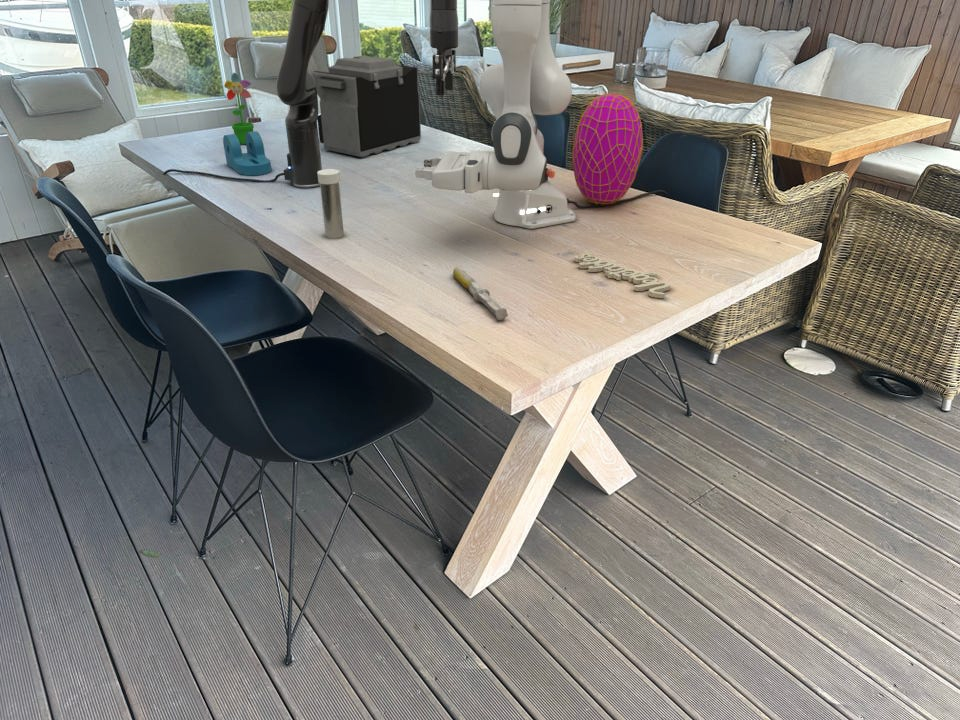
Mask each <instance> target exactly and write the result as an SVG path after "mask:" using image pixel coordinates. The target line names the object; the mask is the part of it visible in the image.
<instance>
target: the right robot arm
mask: <svg viewBox="0 0 960 720" xmlns="http://www.w3.org/2000/svg"><path fill="white" fill-rule="evenodd" d="M550 7H551V0H490V25H491V26H490V27H491V33H492V38H493V42H494V44H495V46H496V48H497V50H498V52H499V54H500V57H501V59H502V63H495V64H491V65H489V66H488V67H487V68H486V69H484V71H483V73H482V75H481V77H480V82H479V90H480V95H481V97H482V99H483V101H484V102H485V103H486V104H487V105H488V106H489V107H490V109H491V111H492V113H493V115H494V117H495V121H494V123H493V125H492V128H491V140H492V145H493V146H492V147H493V150H494V151H493V152H490V151H486V150H470V152H462V151H446V152H445V153H444V155H443V156H437V157H432V158H431V157H428V158H427V157H426V158H424V160H423V167H424V168H420V167H418V168H416V169H415V171H414V173H415V178H418V179H424V180H428V181H431V185H432V187H433V188H435V189H441V190H448V191H458V192H459V191H464V193H465V194H475V193H476V192H479V191H493V190H498V193H493V194H492V196H493V197H498V198H497V203H496V208H495V210H494V214H493V219H494V220H495V221H496V222H498V223H500V224H503V225H508V226H513V227H519V228H524V229H529V230H534V229H539V228H544V227H550V226H555V225H561V224H566V223H571V222H575V221H576V214H575V212H574V211H573V210H572V209H571V208H570V207H569V204H570V205H571V204H572V205H574V206H575V207H576V208H578V209H593V208H597V207H602V206H608V205H610V204H596V203H595V204H590V205H580V204H578V203H577V202H576V201H573V200H570V198H568V197H567V196H566V194H565V193H564V191H562V190H561V189H560V188H559V187H558V186H556V185H555V184H554V183H553V182H552V181H550V180H549V178H550V179H553V178H555V176H556V171H555V170H553V169H552V168H548V167H547V165H548V160H547V157H546V156H545V155H544V146H545V139H544V138H545V137H544V135H543V133H542V132H541V130H540V129H539V128H538V122H537V118H536V115H538V116H555V115H560V114H562V113H563V112H564V111H565V110H566V109H567V107H568V106H569V105H570V103H571V100H572V96H573V87H572V86H573V85H572V82H571V79H570V78H569V76H568V74H567V73H565V72H564V71H563V69H562V67H561V66H560V65H559V62H558V61H557V59H556V56H555V53H554V50H553V47H552V41H551V33H550V32H551V31H550V27H551V26H550V14H551V12H550V11H551V10H550ZM432 167H433V168H434V169H425V168H432ZM659 193H662V194H663V195H665V196H668V195H669V194H668V193H667V192H666V191H665V190H662V189H657V190H653V191H649V192H645V193H641V194H638V195H636V196H632V197H628V198H624V199H620V200H618V201H617V202H615V203H612V204H611V205H615V204H620V203H622V204H623V203H626V202H630V201H634V200H636V199H639V198H641V197H645V196H650V195H654V194H659Z"/></svg>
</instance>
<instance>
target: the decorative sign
mask: <svg viewBox="0 0 960 720" xmlns="http://www.w3.org/2000/svg"><path fill="white" fill-rule="evenodd" d="M574 262H575V263H578V269H588V270H587V272H588V273H598V272H603V273H604V276H606V277H607V278H608V279H614V280H617V281H621V279H622V280H627V281H628V282H630V283H633V284H634V285H633V291H636V292H643V291H647V290H648V293H647V294H648V296H649V297H652V298H656V299H664V298H665V295H666V292H668V291H669V290H670V289H671V283H670V282H668V281H659V279H658V272H657V271H648V272H639V271H637V270H634V269H630V268H628V267H627V266H626V267H625V266H624V265H619V264H618V263H615V262H611V261H610V260H604V258H601V257H598V256H596V255H592V254H590V253H587V252H586V253H582V254H581V255H580V256H578V255H575V256H574Z"/></svg>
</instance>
